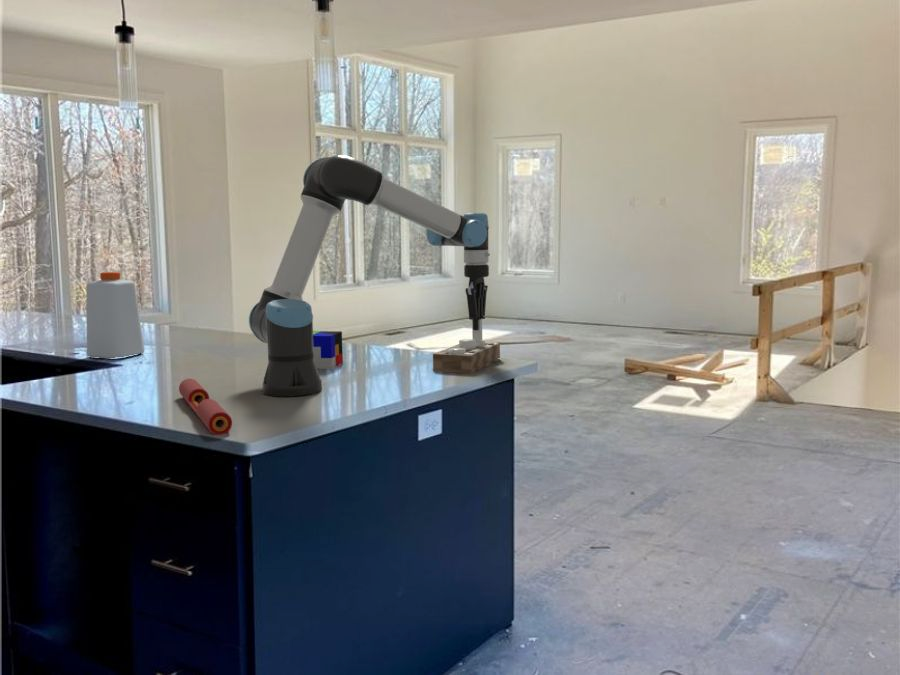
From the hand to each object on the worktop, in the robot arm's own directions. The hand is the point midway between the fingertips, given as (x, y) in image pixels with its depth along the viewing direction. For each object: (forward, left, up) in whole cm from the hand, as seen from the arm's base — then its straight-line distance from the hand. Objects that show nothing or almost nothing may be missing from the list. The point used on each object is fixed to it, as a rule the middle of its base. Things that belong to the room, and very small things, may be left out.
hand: (477, 340), depth 254 cm
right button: (0, 0, -5) cm, 5 cm away
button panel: (-8, 0, -7) cm, 10 cm away
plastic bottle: (-30, +118, -7) cm, 122 cm away
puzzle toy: (-23, +42, -7) cm, 48 cm away
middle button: (-8, 0, -3) cm, 9 cm away
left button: (-16, 0, -5) cm, 17 cm away
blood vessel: (-86, +34, -7) cm, 93 cm away
